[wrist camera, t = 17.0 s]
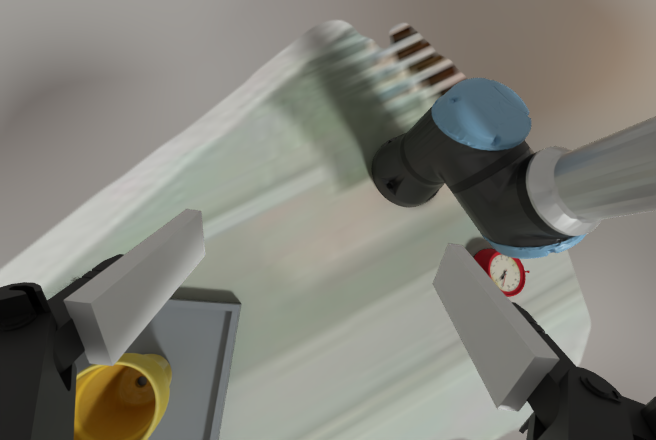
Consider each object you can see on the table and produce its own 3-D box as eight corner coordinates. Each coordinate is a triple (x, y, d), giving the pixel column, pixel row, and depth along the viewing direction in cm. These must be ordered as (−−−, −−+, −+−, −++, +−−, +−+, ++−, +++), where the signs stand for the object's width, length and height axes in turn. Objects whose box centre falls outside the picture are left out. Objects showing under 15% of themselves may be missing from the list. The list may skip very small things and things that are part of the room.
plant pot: (93, 426, 34) (29, 482, 25) (109, 341, 36) (57, 363, 27) (180, 417, 36) (152, 465, 27) (190, 338, 39) (167, 357, 29)
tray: (241, 303, 42) (240, 305, 40) (214, 464, 37) (211, 476, 34) (85, 291, 38) (73, 292, 35) (28, 473, 32) (9, 488, 30)
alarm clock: (537, 276, 54) (512, 323, 46) (507, 280, 59) (480, 322, 51) (508, 234, 54) (478, 274, 46) (481, 242, 60) (450, 278, 52)
